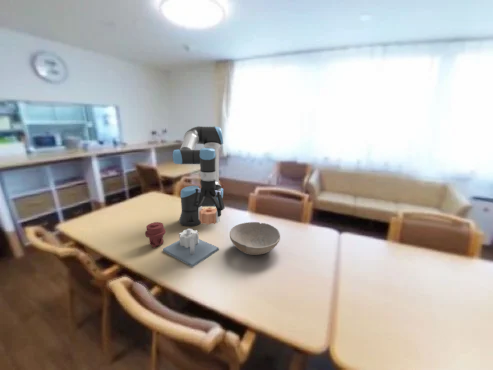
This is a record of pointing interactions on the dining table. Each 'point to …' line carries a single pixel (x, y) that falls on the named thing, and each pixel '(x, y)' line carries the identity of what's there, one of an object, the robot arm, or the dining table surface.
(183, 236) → the white gear
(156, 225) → the mechanical component
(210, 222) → the terracotta gear
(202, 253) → the gear board
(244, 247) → the bowl
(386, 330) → the dining table surface
